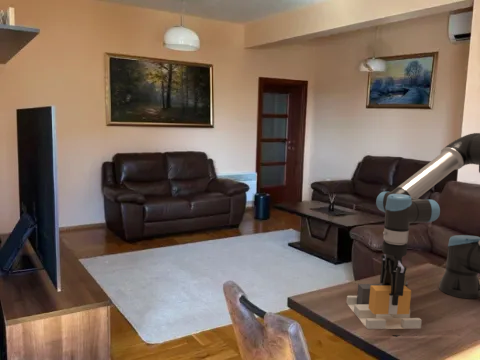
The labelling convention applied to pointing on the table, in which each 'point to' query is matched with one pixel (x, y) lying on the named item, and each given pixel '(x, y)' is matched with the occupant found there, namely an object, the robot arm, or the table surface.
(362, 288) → the dark gray brick
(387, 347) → the table surface
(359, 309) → the rack
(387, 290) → the tall orange brick
